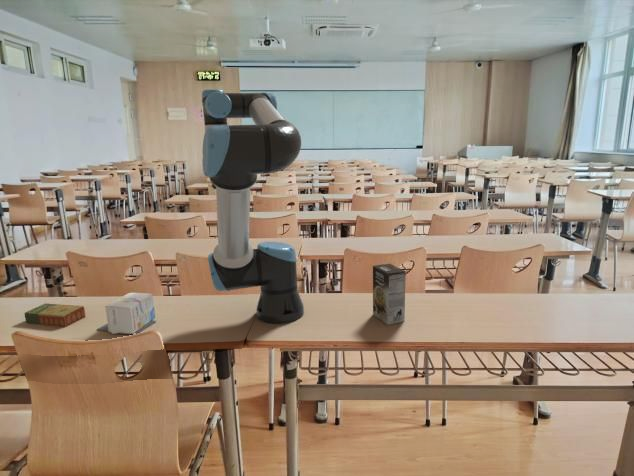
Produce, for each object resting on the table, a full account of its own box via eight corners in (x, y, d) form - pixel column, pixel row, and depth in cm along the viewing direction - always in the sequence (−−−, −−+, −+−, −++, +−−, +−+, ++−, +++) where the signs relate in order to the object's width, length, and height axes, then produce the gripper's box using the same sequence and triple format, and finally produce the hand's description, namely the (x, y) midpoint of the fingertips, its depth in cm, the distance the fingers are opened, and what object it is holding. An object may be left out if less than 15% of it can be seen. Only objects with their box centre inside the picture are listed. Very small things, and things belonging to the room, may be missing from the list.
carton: (65, 328, 132) (63, 315, 131) (25, 324, 136) (22, 312, 136) (86, 317, 140) (84, 305, 139) (47, 314, 144) (45, 302, 143)
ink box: (155, 318, 136) (130, 337, 123) (132, 316, 137) (104, 335, 125) (152, 293, 134) (126, 310, 121) (128, 291, 135) (100, 308, 123)
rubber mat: (155, 322, 134) (155, 321, 134) (134, 335, 125) (134, 333, 125) (119, 317, 138) (119, 316, 138) (97, 330, 129) (96, 328, 129)
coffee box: (372, 314, 134) (371, 265, 131) (389, 310, 136) (389, 262, 133) (387, 325, 126) (387, 273, 122) (405, 321, 128) (406, 270, 125)
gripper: (217, 138, 150) (222, 204, 156) (196, 138, 138) (203, 210, 144) (236, 137, 148) (241, 204, 153) (216, 137, 136) (222, 210, 141)
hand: (222, 207), depth 148 cm, fingers closed
